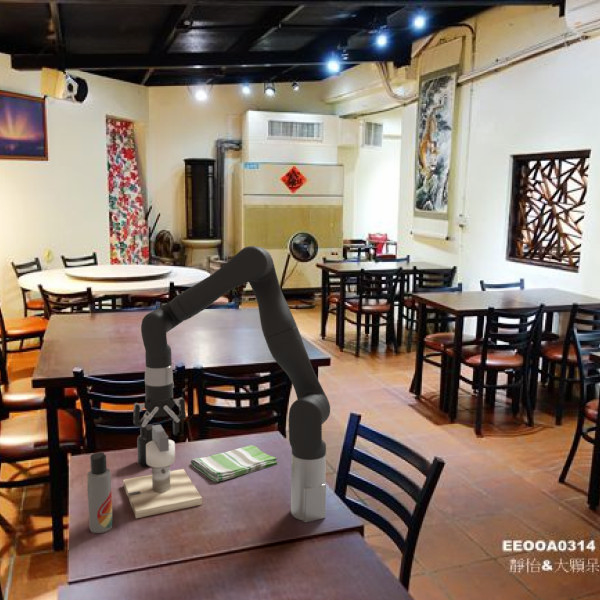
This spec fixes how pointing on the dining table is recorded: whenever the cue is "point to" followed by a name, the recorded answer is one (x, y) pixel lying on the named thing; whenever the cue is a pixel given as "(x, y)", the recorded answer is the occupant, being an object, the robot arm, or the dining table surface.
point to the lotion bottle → (99, 494)
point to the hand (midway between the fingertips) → (160, 436)
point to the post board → (161, 492)
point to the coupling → (160, 448)
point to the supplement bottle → (143, 446)
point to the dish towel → (233, 463)
